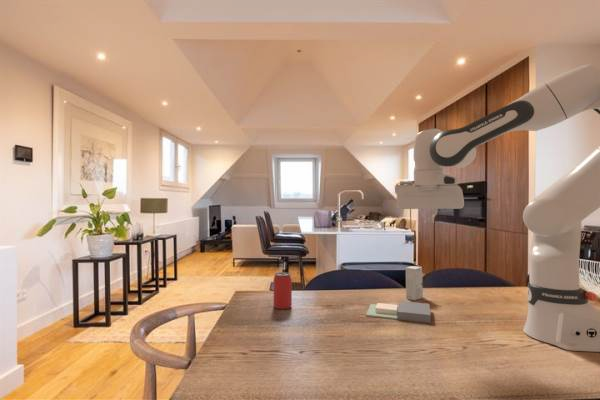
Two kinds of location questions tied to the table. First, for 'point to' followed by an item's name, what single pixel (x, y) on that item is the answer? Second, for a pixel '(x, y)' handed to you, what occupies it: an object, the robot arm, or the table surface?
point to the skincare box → (414, 283)
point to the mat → (372, 313)
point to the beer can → (282, 290)
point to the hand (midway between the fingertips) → (429, 223)
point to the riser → (414, 312)
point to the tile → (386, 308)
